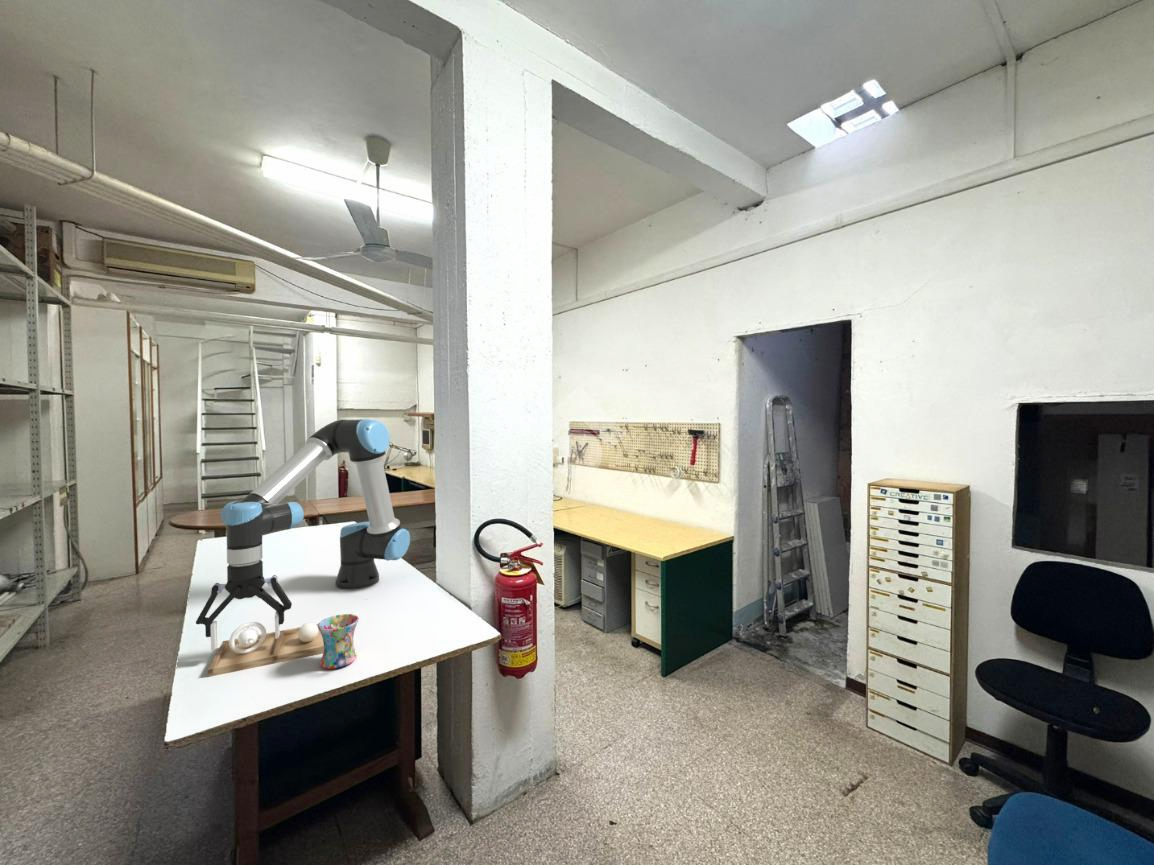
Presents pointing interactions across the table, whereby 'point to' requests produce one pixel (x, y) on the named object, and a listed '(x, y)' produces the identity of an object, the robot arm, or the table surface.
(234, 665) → the divided wooden tray
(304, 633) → the ceramic egg
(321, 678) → the table surface
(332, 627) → the floral vase
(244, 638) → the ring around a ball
